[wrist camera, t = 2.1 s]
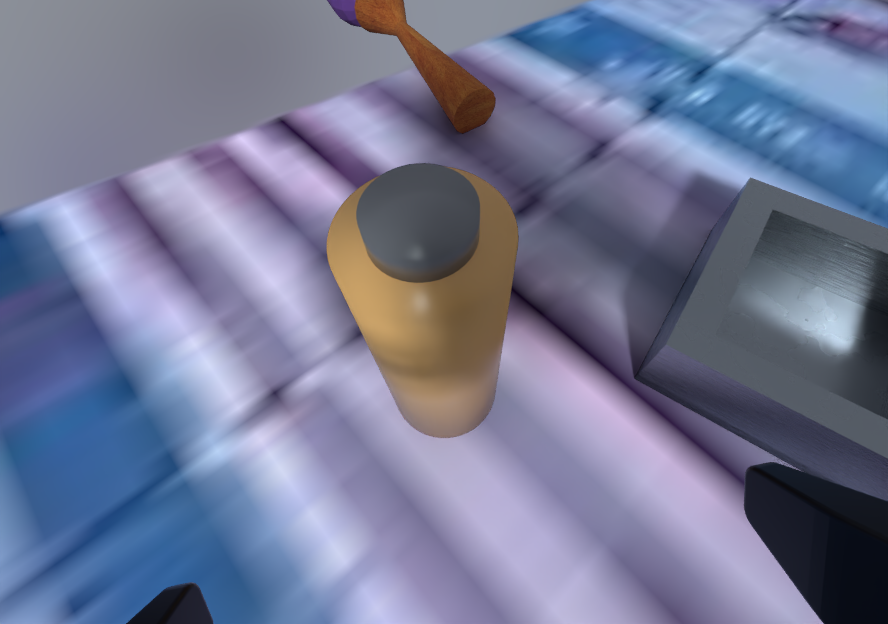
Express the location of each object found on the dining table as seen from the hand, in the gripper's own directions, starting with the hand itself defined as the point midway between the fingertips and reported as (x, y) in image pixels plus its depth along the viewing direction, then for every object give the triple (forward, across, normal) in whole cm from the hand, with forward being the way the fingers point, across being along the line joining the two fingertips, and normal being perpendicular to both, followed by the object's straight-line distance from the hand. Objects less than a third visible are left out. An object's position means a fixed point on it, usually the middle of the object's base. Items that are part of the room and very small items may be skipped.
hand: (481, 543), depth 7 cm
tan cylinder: (+14, 0, +4) cm, 15 cm away
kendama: (+34, -2, -15) cm, 37 cm away
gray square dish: (+13, -17, +5) cm, 22 cm away
